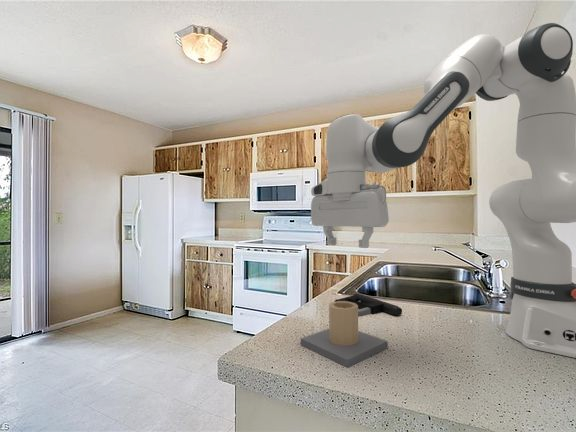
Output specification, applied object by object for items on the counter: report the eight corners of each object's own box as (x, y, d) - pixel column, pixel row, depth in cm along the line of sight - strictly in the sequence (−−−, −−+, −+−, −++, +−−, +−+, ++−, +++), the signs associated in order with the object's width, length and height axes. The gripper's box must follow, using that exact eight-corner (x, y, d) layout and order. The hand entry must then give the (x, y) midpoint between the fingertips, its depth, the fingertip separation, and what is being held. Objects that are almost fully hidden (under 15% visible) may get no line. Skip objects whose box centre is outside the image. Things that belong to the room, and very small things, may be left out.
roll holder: (387, 347, 70) (387, 310, 70) (347, 367, 61) (347, 324, 61) (340, 330, 81) (340, 298, 81) (300, 344, 72) (300, 308, 72)
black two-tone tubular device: (364, 317, 85) (405, 305, 93) (323, 300, 103) (359, 291, 110) (365, 329, 85) (405, 316, 93) (323, 310, 103) (360, 300, 111)
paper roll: (363, 340, 71) (363, 305, 71) (345, 348, 67) (345, 311, 67) (342, 332, 76) (342, 299, 76) (323, 339, 71) (323, 304, 71)
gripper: (394, 183, 65) (395, 248, 65) (324, 190, 81) (324, 242, 81) (376, 181, 61) (377, 250, 61) (306, 189, 77) (307, 244, 77)
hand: (347, 246), depth 71 cm, fingers open, 8 cm apart
